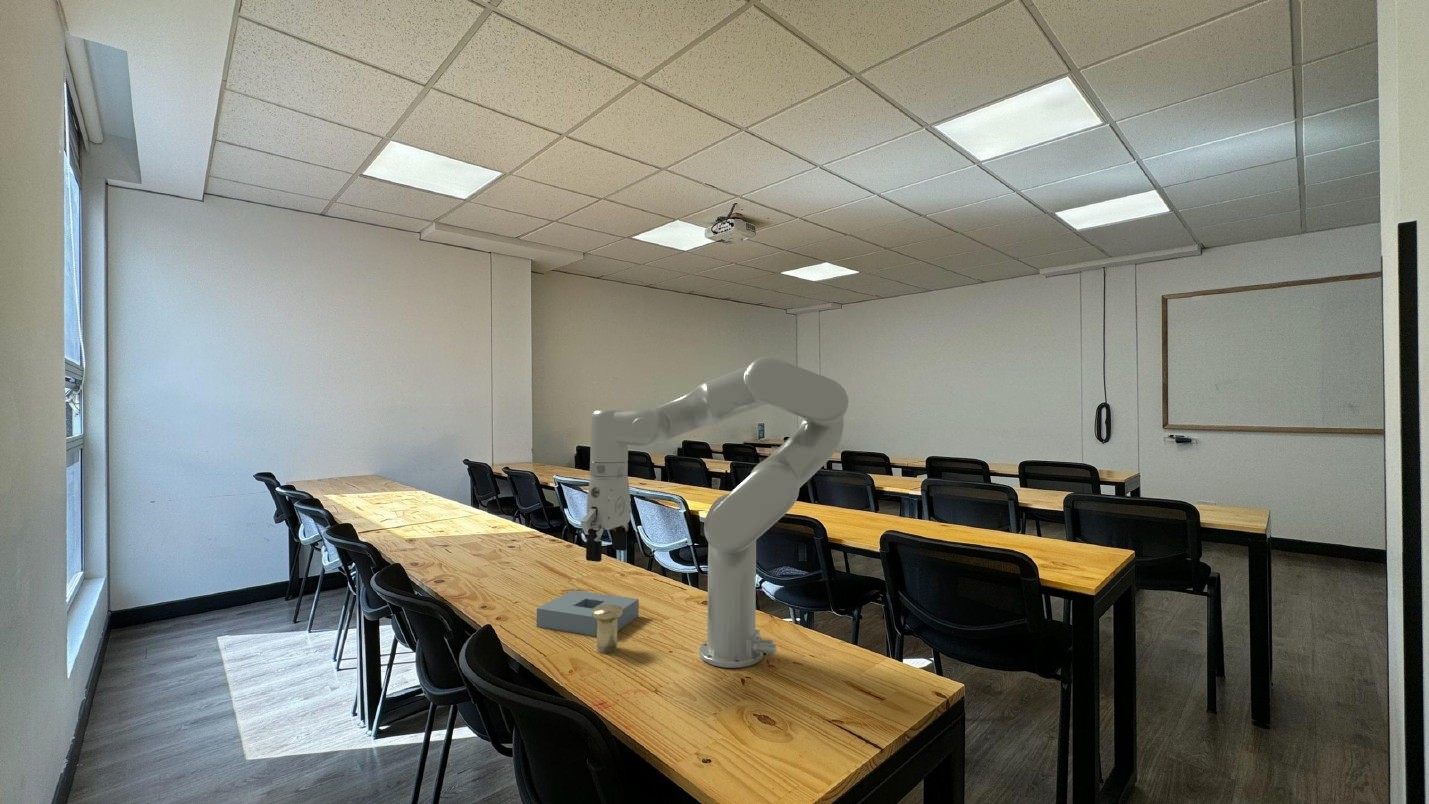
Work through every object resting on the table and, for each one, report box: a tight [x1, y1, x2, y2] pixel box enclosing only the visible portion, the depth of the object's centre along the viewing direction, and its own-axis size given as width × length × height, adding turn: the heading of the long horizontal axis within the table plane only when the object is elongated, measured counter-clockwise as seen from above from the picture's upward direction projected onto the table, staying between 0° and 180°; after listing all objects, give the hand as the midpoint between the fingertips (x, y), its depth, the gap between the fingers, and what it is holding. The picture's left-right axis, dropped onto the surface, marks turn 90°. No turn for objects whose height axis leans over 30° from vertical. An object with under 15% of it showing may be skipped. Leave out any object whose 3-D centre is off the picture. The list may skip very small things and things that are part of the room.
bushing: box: [592, 604, 623, 655], centre depth 116 cm, size 6×6×8 cm
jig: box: [536, 589, 640, 637], centre depth 131 cm, size 18×14×4 cm
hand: (607, 555), depth 116 cm, fingers open, 9 cm apart
